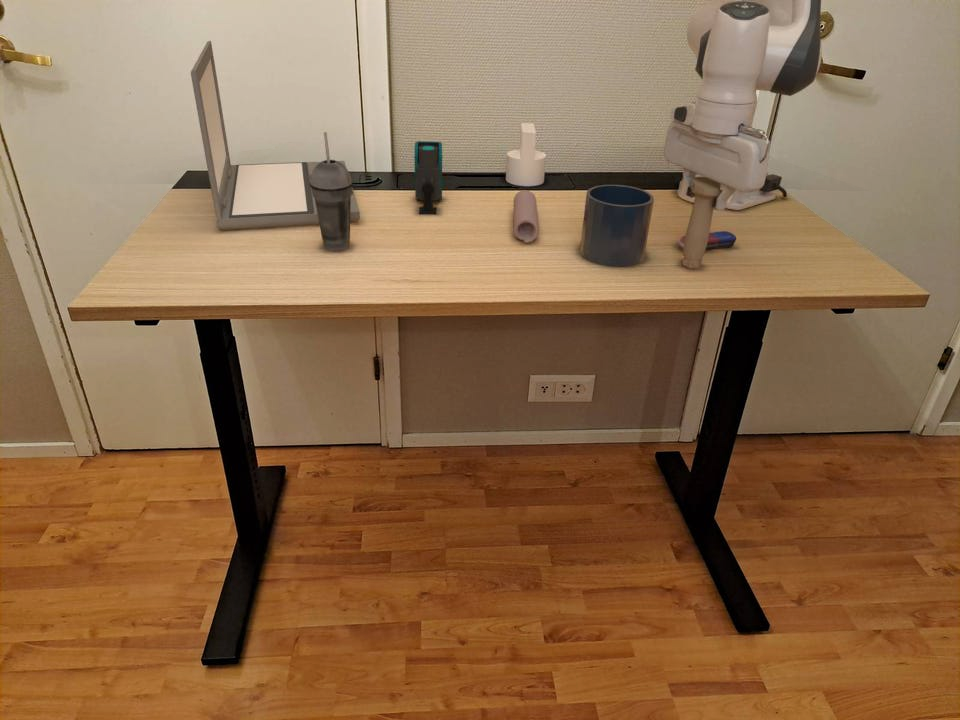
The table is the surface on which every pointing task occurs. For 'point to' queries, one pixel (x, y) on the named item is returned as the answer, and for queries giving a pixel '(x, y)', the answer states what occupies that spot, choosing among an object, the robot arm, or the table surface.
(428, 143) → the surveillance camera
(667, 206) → the table surface
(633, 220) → the open cylindrical bucket
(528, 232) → the coil
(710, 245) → the eraser
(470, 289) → the table surface
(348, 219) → the beverage cup
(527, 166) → the cylinder with rectangular tab
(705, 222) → the handle
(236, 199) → the laptop
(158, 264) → the table surface
